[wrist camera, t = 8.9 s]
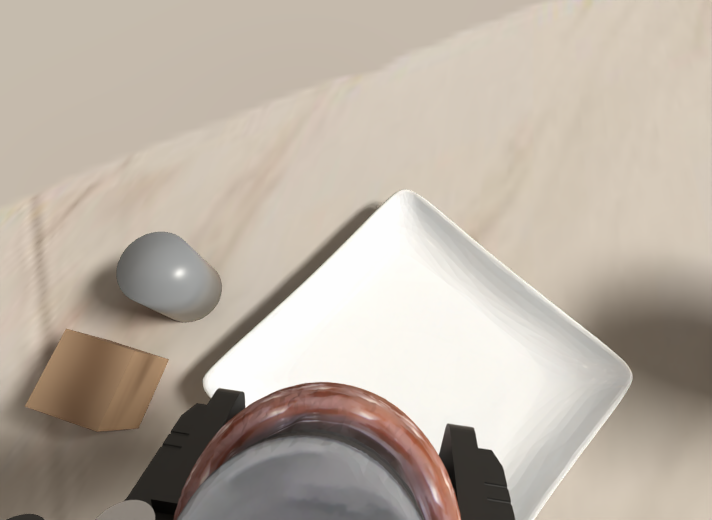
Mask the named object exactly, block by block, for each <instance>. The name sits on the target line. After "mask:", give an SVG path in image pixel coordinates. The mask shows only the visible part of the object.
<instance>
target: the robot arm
mask: <svg viewBox="0 0 712 520" xmlns="http://www.w3.org/2000/svg"><path fill="white" fill-rule="evenodd" d="M244 408H245V393H244V392H243V391H236V390H230V389H223V388H218V389H217V390H216V391H215V393H214V395H213V396H212V398H211V399H210V401H209V403H208V404H207V405H204V404H198V403H197V404H195V405H194V406H193V407H192V408H190V409H189V410H188V411H187V412H185V413H184V414H183V415H181V417H180V418H179V420H178V421H177V423H176V424H175V426H174V427H173V429H172V430H171V434H169V435H168V437H167V438H166V440H165V441H164V443H163V446H162V447H160V449H159V450H158V452H157V453H156V455H155V456H154V458H153V459H152V461H151V462H150V464H149V465H148V467H147V468H146V470H145V471H144V473H143V474H142V476H141V477H140V479H139V481H138V482H137V484H136V485H135V487H134V488H133V490H132V491H131V493H130V494H129V495H128V497H127V498H126V499H125V500H124V501H123V502H120V503H118V504H115V505H113V506H111V507H110V508H108V509H107V510H105V511H104V512H103V513H101V514H100V515H99V516H98V517H97V518H96V519H95V520H174V514H175V510H176V508H177V505H178V501H179V498H180V497H181V492H182V489H183V487H184V485H185V483H186V480H187V478H188V477H189V475H190V472H191V470H192V468H193V467H194V465H195V464H196V461H197V460H198V458H199V457H200V456H201V454H202V452H203V451H204V449H205V447H206V446H207V445H208V443H209V442H210V441H211V439H212V438H213V437H214V436H215V434H216V433H217V432H218V431H219V430H220V429H221V428H222V426H224V425H225V424H226V423H227V422H228V421H229V420H230V419H231V418H233V417H234V416H235V415H236V414H238V413H239V412H240V411H242V410H243V409H244ZM439 457H440V458H441V460H442V462H443V464H444V466H445V468H446V470H447V472H448V475H449V477H450V480H451V483H452V486H453V489H454V492H455V495H456V499H457V502H458V506H459V511H460V515H461V520H515V516H514V512H513V507H512V505H511V499H510V495H509V490H508V489H507V482H506V478H505V473H504V469H503V466H502V465H501V463H500V462H499V460H498V459H497V457H496V456H495V454H494V453H493V451H492V450H489V449H483V448H478V445H477V439H476V433H475V430H474V428H473V427H468V426H462V425H455V424H449V423H447V425H446V427H445V431H444V436H443V440H442V444H441V448H440V452H439ZM7 520H44V519H43V518H42V517H40V516H38V515H34V514H24V515H19V516H15V517H12V518H9V519H7Z"/></svg>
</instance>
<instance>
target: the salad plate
mask: <svg viewBox="0 0 712 520" xmlns="http://www.w3.org/2000/svg"><path fill="white" fill-rule="evenodd" d="M632 379H633V378H632V372H631V370H630V368H629V366H628V365H627V363H626V362H625V361H624V360H623V359H622V358H620V357H619V356H618V355H617V354H616V353H615V352H614V351H612V350H611V349H610V348H609V347H608V346H606V345H605V344H604V343H603V342H601V341H600V340H599V339H598V338H596V337H595V336H594V335H593V334H591V333H590V332H589V331H588V330H586V329H585V328H584V327H582V326H581V325H580V324H579V323H577V322H576V321H575V320H574V319H572V318H571V317H570V316H568V315H567V314H566V313H564V312H563V311H562V310H561V309H559V308H558V307H557V306H556V305H554V304H553V303H552V302H551V301H549V300H548V299H547V298H546V297H544V296H543V295H542V294H541V293H539V292H538V291H537V290H536V289H534V288H533V287H532V286H530V285H529V284H528V283H527V282H525V281H524V280H523V279H522V278H520V277H519V276H518V275H517V274H515V273H514V272H513V271H512V270H510V269H509V268H508V267H507V266H505V265H504V264H503V263H502V262H500V261H499V260H498V259H497V258H495V257H494V256H493V255H492V254H491V253H489V252H488V251H487V250H486V249H485V248H484V247H482V246H481V245H480V244H479V243H478V242H476V241H475V240H474V239H473V238H472V237H470V236H469V235H468V234H467V233H466V232H464V231H463V230H462V229H461V228H460V227H459V226H457V225H456V224H455V223H454V222H453V221H451V220H450V219H449V218H448V217H447V216H446V215H444V214H443V213H442V212H441V211H440V210H438V209H437V208H436V207H435V206H434V205H432V204H431V203H430V202H429V201H427V200H426V199H425V198H423V197H422V196H420V195H419V194H417V193H415V192H413V191H411V190H408V189H403V190H400V191H398V192H396V193H395V194H393V195H392V196H391V197H390V198H389V199H388V200H386V201H385V202H384V203H383V204H382V205H381V206H380V207H379V208H378V209H377V210H376V211H375V212H374V213H373V214H372V215H371V216H370V217H369V218H368V219H367V220H366V221H365V222H364V223H363V224H362V225H361V226H360V227H359V228H358V229H357V230H356V231H355V232H354V233H353V234H352V235H351V236H350V237H349V238H348V239H347V240H346V241H345V242H344V243H343V244H342V245H341V246H340V247H339V248H338V249H337V250H336V251H335V252H334V253H333V254H332V255H331V256H330V257H329V258H328V259H327V260H326V261H325V262H324V263H323V264H322V265H321V266H320V267H319V268H318V269H317V270H316V271H315V272H314V273H313V274H312V275H311V276H310V277H308V278H307V279H306V280H305V281H304V282H303V283H302V284H301V285H300V286H299V287H298V288H297V289H296V290H295V291H293V292H292V293H291V294H290V295H289V296H288V297H287V298H286V299H285V300H284V301H283V302H282V303H281V304H279V305H278V306H277V307H276V308H275V309H274V310H273V311H272V312H271V313H270V314H268V315H267V316H266V317H265V318H264V319H263V320H262V321H261V322H260V323H259V324H257V325H256V326H255V327H254V328H253V329H252V330H251V331H250V332H248V333H247V334H246V335H245V336H244V337H243V338H242V339H241V340H240V341H239V342H238V343H236V344H235V345H234V346H233V347H232V348H231V349H230V350H229V351H228V352H227V353H226V354H224V355H223V356H222V357H221V358H220V359H219V360H218V361H217V362H216V363H215V364H214V365H213V366H212V367H211V368H210V369H209V370H208V372H207V373H206V374H205V376H204V378H203V381H202V383H203V388H204V390H205V392H206V393H207V395H208V396H209V397H210V399H211V398H212V396H213V395H214V393H215V391H216V390H217V389H218V388H223V389H230V390H236V391H243V392H244V393H245V408H246V407H247V406H248V405H250V404H252V403H253V402H255V401H257V400H259V399H261V398H263V397H265V396H267V395H269V394H271V393H273V392H275V391H278V390H280V389H284V388H287V387H291V386H295V385H299V384H304V383H313V382H332V383H341V384H346V385H351V386H355V387H358V388H361V389H364V390H367V391H369V392H372V393H374V394H376V395H378V396H381V397H383V398H384V399H386V400H387V401H389V402H390V403H392V404H394V405H395V406H397V407H398V408H399V409H400V410H401V411H403V412H404V413H405V414H406V415H407V416H408V417H409V418H410V419H411V420H412V421H413V422H414V423H415V424H416V425H417V426H418V427H419V428H420V430H421V431H422V432H423V433H424V435H425V436H426V437H427V438H428V440H429V441H430V443H431V444H432V445H433V447H434V448H435V450H436V452H437V453H438V455H439V452H440V448H441V444H442V440H443V436H444V431H445V427H446V425H447V423H449V424H455V425H462V426H468V427H473V428H474V430H475V433H476V439H477V445H478V448H483V449H489V450H492V451H493V453H494V454H495V456H496V457H497V459H498V460H499V462H500V463H501V465H502V466H503V469H504V473H505V478H506V482H507V489H508V490H509V495H510V499H511V505H512V507H513V512H514V516H515V520H534V519H535V518H536V516H537V515H538V513H539V512H540V511H541V509H542V508H543V506H544V505H545V503H546V502H547V500H548V499H549V498H550V496H551V495H552V493H553V492H554V490H555V489H556V488H557V486H558V485H559V483H560V482H561V481H562V479H563V478H564V477H565V475H566V474H567V473H568V471H569V470H570V469H571V467H572V466H573V465H574V463H575V462H576V460H577V459H578V457H579V456H580V455H581V453H582V452H583V451H584V449H585V448H586V447H587V446H588V444H589V443H590V442H591V440H592V439H593V438H594V436H595V435H596V434H597V432H598V431H599V429H600V428H601V427H602V425H603V424H604V423H605V422H606V420H607V419H608V418H609V416H610V415H611V414H612V412H613V411H614V410H615V408H616V407H617V406H618V404H619V403H620V401H621V400H622V398H623V397H624V395H625V394H626V392H627V390H628V389H629V387H630V385H631V382H632Z"/></svg>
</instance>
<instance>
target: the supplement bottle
mask: <svg viewBox="0 0 712 520" xmlns="http://www.w3.org/2000/svg"><path fill="white" fill-rule="evenodd" d="M174 520H461V515H460V511H459V506H458V502H457V499H456V495H455V492H454V489H453V486H452V483H451V480H450V477H449V475H448V472H447V470H446V468H445V466H444V464H443V462H442V460H441V458H440V457H439V455H438V453H437V452H436V450H435V448H434V447H433V445H432V444H431V443H430V441H429V440H428V438H427V437H426V436H425V435H424V433H423V432H422V431H421V430H420V428H419V427H418V426H417V425H416V424H415V423H414V422H413V421H412V420H411V419H410V418H409V417H408V416H407V415H406V414H405V413H404V412H403V411H401V410H400V409H399V408H398V407H397V406H395V405H394V404H392V403H390V402H389V401H387V400H386V399H384V398H383V397H381V396H378V395H376V394H374V393H372V392H369V391H367V390H364V389H361V388H358V387H355V386H351V385H346V384H341V383H332V382H313V383H304V384H299V385H295V386H291V387H287V388H284V389H280V390H278V391H275V392H273V393H271V394H269V395H267V396H265V397H263V398H261V399H259V400H257V401H255V402H253V403H252V404H250V405H248V406H247V407H246V408H244V409H243V410H242V411H240V412H239V413H238V414H236V415H235V416H234V417H233V418H231V419H230V420H229V421H228V422H227V423H226V424H225V425H224V426H222V428H221V429H220V430H219V431H218V432H217V433H216V434H215V436H214V437H213V438H212V439H211V441H210V442H209V443H208V445H207V446H206V447H205V449H204V451H203V452H202V454H201V456H200V457H199V458H198V460H197V461H196V464H195V465H194V467H193V468H192V470H191V472H190V475H189V477H188V478H187V480H186V483H185V485H184V487H183V489H182V492H181V497H180V498H179V501H178V505H177V508H176V510H175V514H174Z"/></svg>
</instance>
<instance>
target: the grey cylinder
mask: <svg viewBox="0 0 712 520" xmlns="http://www.w3.org/2000/svg"><path fill="white" fill-rule="evenodd" d="M117 282H118V285H119V287H120V289H121V290H122V292H123V293H124V294H125V295H126V296H127V297H128V298H130V299H131V300H133V301H135V302H138V303H140V304H142V305H144V306H146V307H148V308H150V309H152V310H154V311H156V312H159V313H161V314H163V315H165V316H167V317H169V318H171V319H173V320H176V321H179V322H193V321H197V320H199V319H201V318H203V317H205V316H207V315H208V314H209V313H210V312H211V311H212V310H213V309H214V308H215V307H216V305H217V303H218V302H219V299H220V296H221V292H222V283H221V279H220V277H219V275H218V273H217V272H216V270H215V269H214V268H213V267H212V266H210V265H209V264H208V263H207V262H206V261H205V260H204V259H203V258H202V257H201V256H200V255H199V254H198V253H197V252H196V251H195V250H194V249H193V248H191V247H190V246H189V245H188V244H187V243H186V242H185V241H184V240H183V239H182V238H180V237H179V236H177V235H175V234H172V233H168V232H154V233H150V234H146V235H144V236H142V237H140V238H138V239H136V240H135V241H134V242H132V243H131V244H130V245H129V246H128V247H127V248H126V249H125V251H124V252H123V254H122V256H121V257H120V260H119V262H118V266H117Z"/></svg>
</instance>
